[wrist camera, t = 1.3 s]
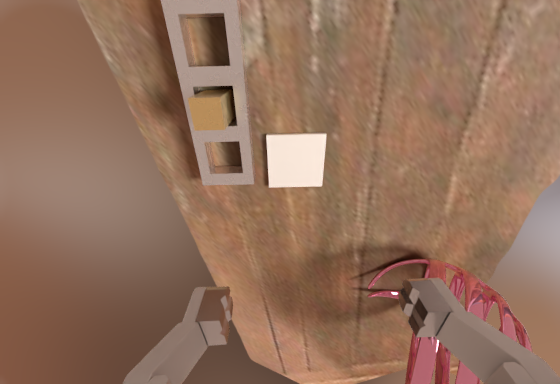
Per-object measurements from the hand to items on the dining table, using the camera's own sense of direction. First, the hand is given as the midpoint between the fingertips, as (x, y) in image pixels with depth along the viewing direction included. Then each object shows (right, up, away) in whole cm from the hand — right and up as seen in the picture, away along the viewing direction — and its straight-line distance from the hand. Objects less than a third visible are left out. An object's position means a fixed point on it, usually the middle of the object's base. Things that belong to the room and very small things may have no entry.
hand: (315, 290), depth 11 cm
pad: (+1, +10, +30) cm, 32 cm away
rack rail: (-11, +19, +25) cm, 33 cm away
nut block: (-11, +19, +25) cm, 33 cm away
